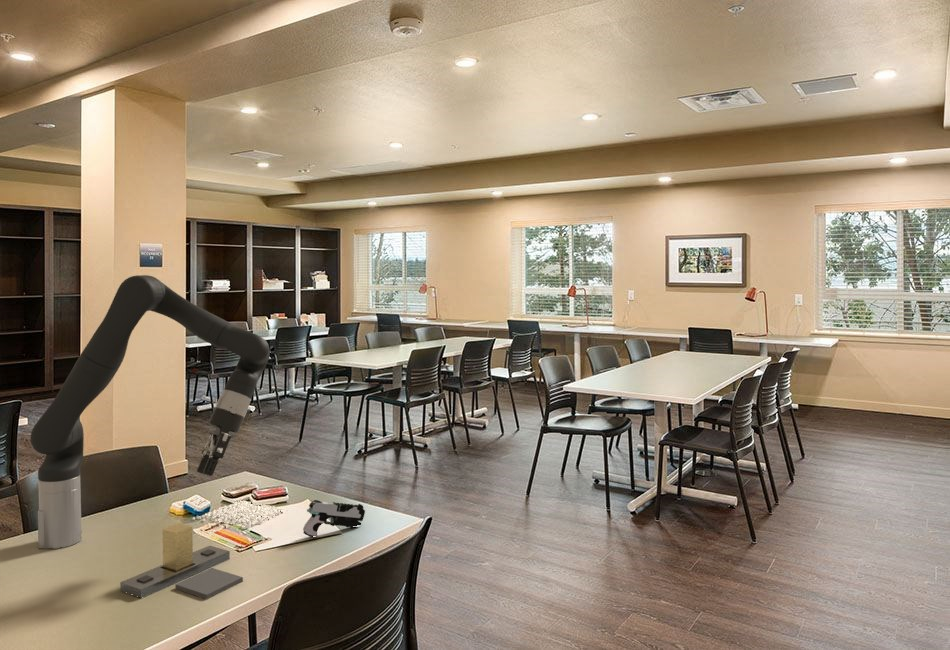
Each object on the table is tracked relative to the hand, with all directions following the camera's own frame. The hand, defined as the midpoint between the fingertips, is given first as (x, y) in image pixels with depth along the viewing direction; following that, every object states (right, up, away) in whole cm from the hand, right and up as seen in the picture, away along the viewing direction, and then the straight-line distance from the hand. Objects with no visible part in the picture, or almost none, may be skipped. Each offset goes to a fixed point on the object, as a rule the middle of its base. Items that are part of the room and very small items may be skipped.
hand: (203, 473), depth 166 cm
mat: (+7, -22, -13) cm, 27 cm away
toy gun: (+28, -20, +20) cm, 40 cm away
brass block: (-3, -22, -8) cm, 23 cm away
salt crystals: (-2, -20, +32) cm, 37 cm away
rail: (-3, -22, -8) cm, 23 cm away
